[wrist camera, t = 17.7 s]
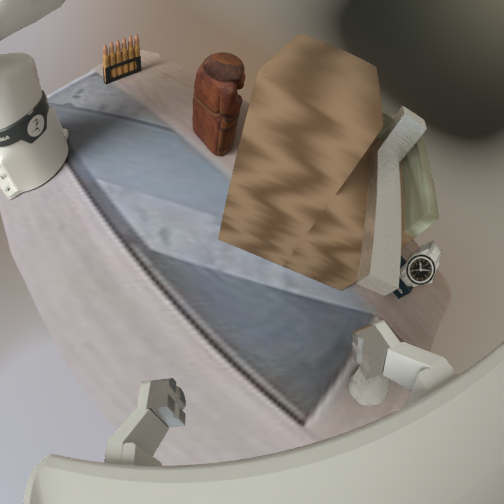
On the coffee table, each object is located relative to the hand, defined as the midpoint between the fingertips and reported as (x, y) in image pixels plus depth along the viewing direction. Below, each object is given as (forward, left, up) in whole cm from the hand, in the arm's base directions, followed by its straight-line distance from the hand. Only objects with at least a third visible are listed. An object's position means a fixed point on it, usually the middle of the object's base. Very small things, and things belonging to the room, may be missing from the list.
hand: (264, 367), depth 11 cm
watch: (+23, +23, -23) cm, 40 cm away
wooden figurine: (-17, +37, -23) cm, 47 cm away
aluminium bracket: (+8, +18, -6) cm, 21 cm away
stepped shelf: (+3, +25, -23) cm, 34 cm away
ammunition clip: (-51, +51, -23) cm, 76 cm away
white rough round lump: (+19, +4, -23) cm, 30 cm away
